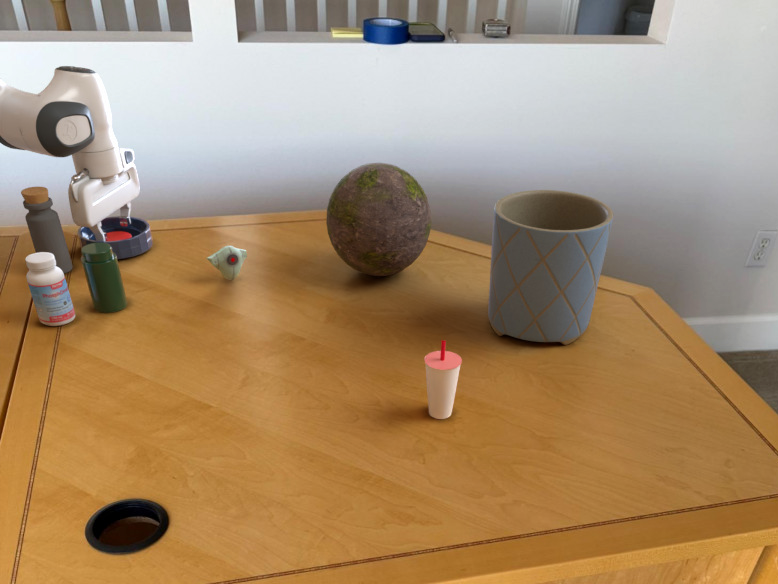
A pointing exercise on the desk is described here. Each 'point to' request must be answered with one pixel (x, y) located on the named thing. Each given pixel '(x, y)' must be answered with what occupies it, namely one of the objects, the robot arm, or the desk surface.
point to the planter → (546, 264)
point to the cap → (118, 236)
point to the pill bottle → (49, 290)
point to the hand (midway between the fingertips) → (114, 233)
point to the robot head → (228, 261)
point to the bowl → (121, 248)
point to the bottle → (45, 226)
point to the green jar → (103, 278)
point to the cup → (441, 381)
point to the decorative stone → (378, 219)
